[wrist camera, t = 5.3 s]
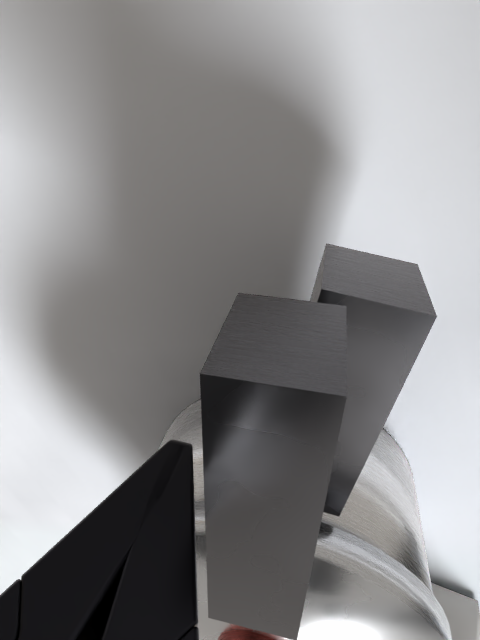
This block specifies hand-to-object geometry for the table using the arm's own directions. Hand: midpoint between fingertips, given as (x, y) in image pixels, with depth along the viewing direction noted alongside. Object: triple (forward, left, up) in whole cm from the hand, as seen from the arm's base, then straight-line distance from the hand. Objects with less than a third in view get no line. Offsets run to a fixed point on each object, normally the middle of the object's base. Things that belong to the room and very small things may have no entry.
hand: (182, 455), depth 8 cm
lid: (-3, +6, -1) cm, 6 cm away
